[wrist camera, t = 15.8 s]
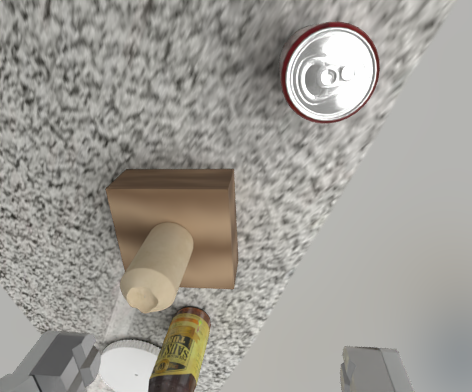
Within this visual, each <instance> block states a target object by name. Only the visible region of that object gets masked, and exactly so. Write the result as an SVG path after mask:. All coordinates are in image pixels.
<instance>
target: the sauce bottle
mask: <svg viewBox="0 0 472 392" xmlns="http://www.w3.org/2000/svg"><path fill="white" fill-rule="evenodd" d="M210 326H211V324H210V318H209V316H208V315H207V314H206V313H205V312H204V311H203V310H200V309H198V308H194V307H185V308H183V309H181V310H179V311H178V312H177V313H176V314H175V316H174V318H173V319H172V322H171V324H170V327H169V329H168V332H167V334H166V337H165V340H164V342H163V345H162V348H161V350H160V353H159V355H158V358H157V360H156V363H155V366H154V368H153V371H152V374H151V376H150V379H149V386H148V392H194V389H195V388H196V385H197V381H198V377H199V373H200V369H201V365H202V361H203V357H204V353H205V349H206V345H207V341H208V337H209V332H210Z"/></svg>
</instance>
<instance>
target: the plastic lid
mask: <svg viewBox="0 0 472 392" xmlns="http://www.w3.org/2000/svg"><path fill="white" fill-rule="evenodd" d="M160 350H161V349H159V347H156V346H155V345H153V344H149V343H146V342H142V341H139V340H137V341H136V340H131V339H130V340H128V339H127V340H123V341H122V340H120V341H117V342H114V343H112V344H109V346H107V347H106V348H105V349H104V351H103V352H102V354H101V363H100V368H99V372H98V373H99V375H100V377H101V378H102V380H103V382H105V384H107V386H109V387H110V388H112V390H115V392H148V386H149V379H150V376H151V374H152V371H153V368H154V366H155V363H156V360H157V358H158V355H159V353H160Z"/></svg>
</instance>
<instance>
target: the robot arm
mask: <svg viewBox="0 0 472 392" xmlns="http://www.w3.org/2000/svg"><path fill="white" fill-rule="evenodd" d="M95 342H96V340H95V337H94V335H93V334H90V333H78V332H66V331H51V330H48V331H47V332H45V333H44V334H43V335H42V336H41V337H40V339H39V340H38V341H37V343H36V344H35V345H34V346H33V348H32V349H31V350H30V352H29V353H28V354H27V356H26V357H25V358H24V359H23V361H22V362H21V363H20V365H19V366H18V367H17V369H16V370H15V371H14V372H13V374H7V375H5V376H4V377H3V378H1V379H0V392H87V389H86V387H87V386H88V385H89V384H91V383H92V382H93V381H94V380H95V378H96V376H97V374H98V372H99V368H100V363H101V355H100V352H99V350H98V349H97V348H96V347H95V346H93V345H94V343H95ZM343 359H344V363H342V364H341V370H340V381H341V390H342V392H414V389H413V387H412V384H411V381H410V379H409V376H408V374H407V371H406V369H405V366H404V364H403V361H402V359H401V356H400V354H399V352H398V351H397V350H396V349H388V348H375V347H350V346H349V347H348V346H345V347H344V349H343Z"/></svg>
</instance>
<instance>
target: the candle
mask: <svg viewBox="0 0 472 392" xmlns="http://www.w3.org/2000/svg"><path fill="white" fill-rule="evenodd" d="M193 244H194V243H193V238H192V236H191V234H190V233H189V231H188V230H187V229H185V228H184V227H183V226H181V225H179V224H176V223H172V222H165V223H161V224H158V225H157V226H155V227H154V228H153V229H152V230H151V232H150V233H149V235H148V236H147V238H146V239H145V241H144V243H143V244H142V246H141V247H140V249H139V251H138V252H137V254H136V256H135V257H134V259H133V260H132V262H131V264H130V265H129V267H128V268H127V270H126V272H125V273H124V275H123V277H122V279H121V282H120V289H121V292H122V294H123V296H124V297H125V299H126V300H127V302H128V303H129V305H130V306H131V307H134V308H137V309H139V310H140V311H141V312H142V313H144V314H146V313H149V312H156V311H161V310H164V309H166V308H168V307H169V306H170V305H171V304H172V303H173V302H174V299H175V297H176V294H177V291H178V289H179V286H180V283H181V281H182V278H183V275H184V273H185V270H186V267H187V264H188V262H189V259H190V256H191V254H192V251H193Z"/></svg>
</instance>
